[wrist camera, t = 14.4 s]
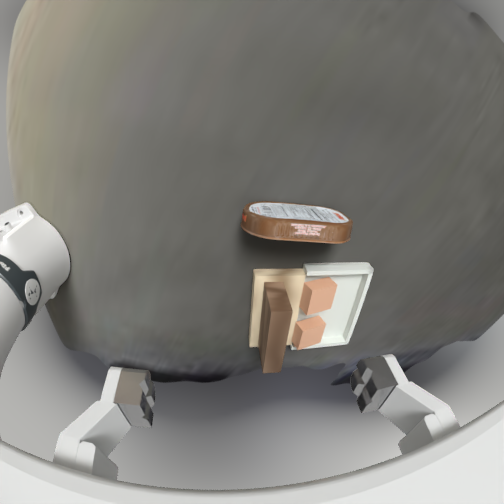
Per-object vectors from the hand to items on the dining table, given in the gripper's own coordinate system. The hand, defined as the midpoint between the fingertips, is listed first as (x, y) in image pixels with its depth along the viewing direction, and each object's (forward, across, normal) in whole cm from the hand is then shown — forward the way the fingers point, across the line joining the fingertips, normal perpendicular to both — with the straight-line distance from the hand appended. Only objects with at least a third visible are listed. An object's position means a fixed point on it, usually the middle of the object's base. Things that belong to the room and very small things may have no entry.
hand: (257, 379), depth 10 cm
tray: (+31, -18, +23) cm, 43 cm away
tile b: (+30, -14, +27) cm, 43 cm away
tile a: (+30, -14, +19) cm, 38 cm away
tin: (+31, -9, +5) cm, 33 cm away
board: (+31, -8, +23) cm, 39 cm away
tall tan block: (+29, -7, +23) cm, 38 cm away
